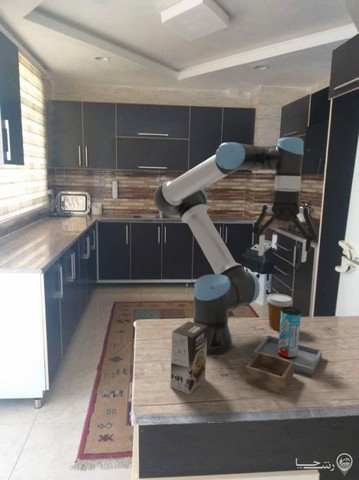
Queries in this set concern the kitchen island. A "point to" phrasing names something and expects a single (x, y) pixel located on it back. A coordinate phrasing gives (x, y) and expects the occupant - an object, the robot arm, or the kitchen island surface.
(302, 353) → the grey tray
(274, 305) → the disposable coffee cup
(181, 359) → the coffee box
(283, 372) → the walnut holder
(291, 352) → the beverage can
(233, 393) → the kitchen island surface
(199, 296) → the robot arm
